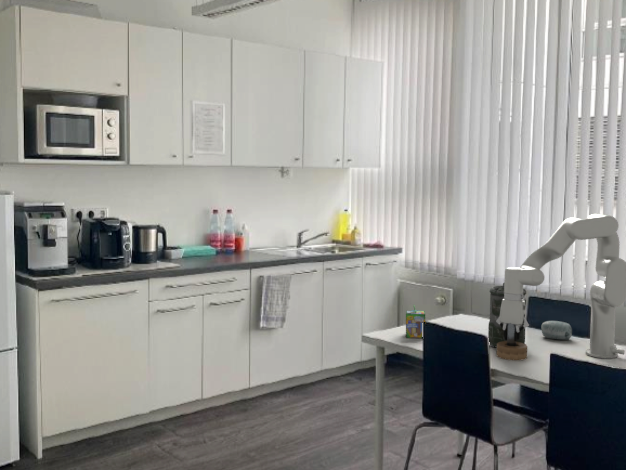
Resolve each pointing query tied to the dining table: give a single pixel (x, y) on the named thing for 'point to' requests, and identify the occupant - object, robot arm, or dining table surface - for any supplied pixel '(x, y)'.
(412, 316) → the chalk box
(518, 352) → the brown round short cylinder
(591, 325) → the robot arm
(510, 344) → the pin
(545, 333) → the grey-green rounded cylinder
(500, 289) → the canister
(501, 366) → the dining table surface
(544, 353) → the dining table surface
